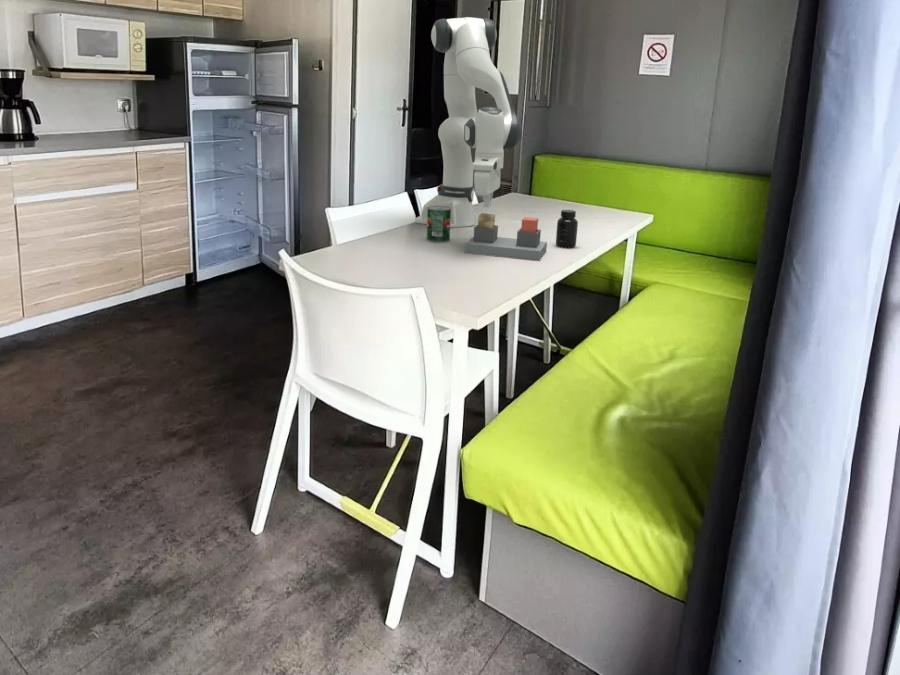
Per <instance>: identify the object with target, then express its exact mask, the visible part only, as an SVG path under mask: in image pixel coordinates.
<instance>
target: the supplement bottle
mask: <svg viewBox="0 0 900 675" xmlns="http://www.w3.org/2000/svg"><path fill="white" fill-rule="evenodd" d="M576 214H577V213H576V210H574V209H561V211H560V217H559V218H558V219H557V223H556V235H555V245H556V247H558V248H561V247H562V248H563V249H573V248H576V245H577V235H578V225H579V224H578V223H579V222H578V220H577V218H576V217H577V216H576Z"/></svg>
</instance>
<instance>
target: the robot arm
mask: <svg viewBox="0 0 900 675" xmlns="http://www.w3.org/2000/svg"><path fill="white" fill-rule="evenodd" d="M430 33H431V34H430V39H431V42H432V45H433V48H434V49H435V50H436V51H437V52H440V53H444V54H445V55H444V62H443V98H444V102H445V104H446V108H447V113H448V118H446V119H445V120H444V121H442V123H441V124H440V125H439V128H438V132H437V135H438V138H439V141H440V145H441V153H442V161H443V162H442V164H443V173H442V174H443V175H442V183H441V184H439V186H437V188H436V192H437V194H436V195H435V196H434V197H433V198H431V199H430V200H429V201H427V202H426V203H425V204H423V206H422V210H421V215H419V216H417V217H416V218H415V223H417V224H422V225H427V214H428V213H427V212H428V207H429V206H447V207H450V208H451V217H450V218H451V219H450V229H451V228H459V227H461V228H462V227H470V226H474V225H475V224H476V222H475V217H474V210H473V202H474V194H475V196H477V197H482V199H483V200H482V201H483V207H484V208H489V207H490V206H492V200H493V196H494V192H495V191H496V190H498V189H500V187H501V169H504V156H505V155H504V154H505V153H504V152H505V150H507V151H512V150H513V149H515V148H516V147H517V146H518V145H519V144H520V143H521V140H522V137H523V131H522V130H523V129H522V126H521V123H520V121H519V118H518V116H517V114H516V111H515V108H514V104H513V101H512V98H511V95H510V91H509V89H508V85H507V82H506V79H505V77H504V75H503V73H502V72H501V71H500V70H499V69H497V68H496V66H495V65H494V63H493V61H492V59H491V54H490V51H491V50H492V49H493V48H494V46H495V45H496V44H495V43H496V40H497V29H496V25H495V22H494V20H492V19H491V18H490V19H489V18H485V17H482V18H480V17H471V16H470V17H469V16H466V17H465V16H464V17H455V18H447V19H446V18H440V19H438V20H435V22H434V23H433V26H432V29H431V32H430ZM476 88H477V89H480V90H482V91H484V92H487V93H488V94H490V95H491V97H492V98H494V101H495V104H496V107H494V106H483V107H480V108H479V109H477V100H476ZM472 149H475V156H474V160H473V159H472V158H473V157H472V152H471V150H472ZM473 161H474V162H473ZM473 184H474V185H473Z"/></svg>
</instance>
